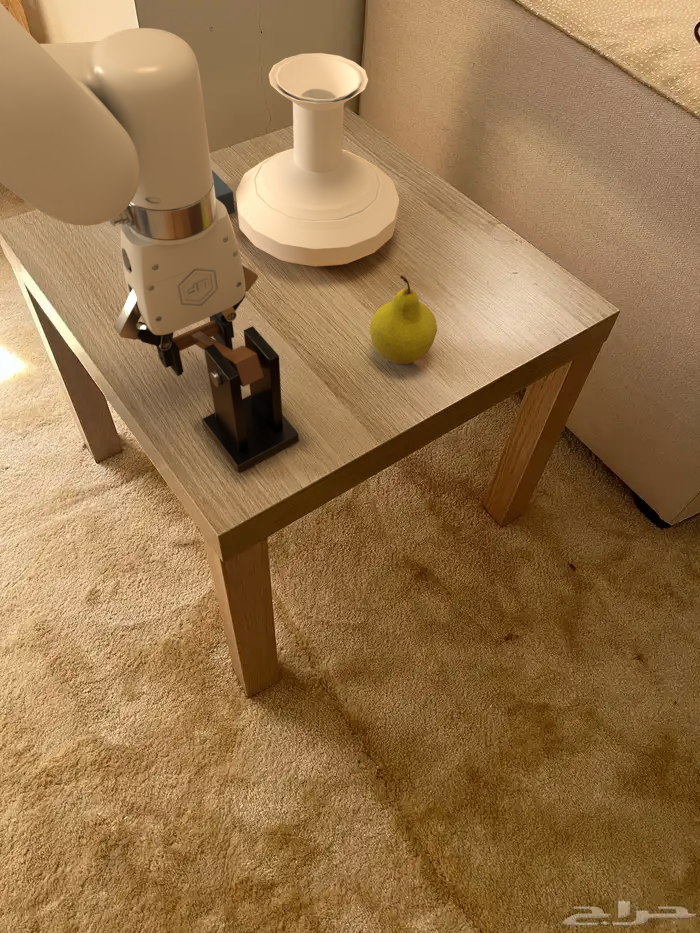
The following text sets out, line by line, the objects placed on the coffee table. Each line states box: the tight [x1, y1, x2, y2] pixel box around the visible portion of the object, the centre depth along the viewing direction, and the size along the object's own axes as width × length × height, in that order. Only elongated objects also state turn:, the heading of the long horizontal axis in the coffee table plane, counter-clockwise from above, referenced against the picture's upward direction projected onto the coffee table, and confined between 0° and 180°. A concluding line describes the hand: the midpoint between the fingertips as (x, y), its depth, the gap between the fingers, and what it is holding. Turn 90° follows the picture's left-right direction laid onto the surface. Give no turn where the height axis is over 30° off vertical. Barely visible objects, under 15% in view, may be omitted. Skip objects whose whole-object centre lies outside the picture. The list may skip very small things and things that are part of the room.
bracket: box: [201, 325, 300, 474], centre depth 66 cm, size 7×7×12 cm
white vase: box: [235, 52, 400, 268], centre depth 81 cm, size 20×20×19 cm
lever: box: [173, 320, 264, 388], centre depth 66 cm, size 13×5×2 cm, turn 36°
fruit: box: [369, 275, 438, 365], centre depth 73 cm, size 7×7×12 cm
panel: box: [212, 169, 236, 215], centre depth 89 cm, size 12×10×3 cm
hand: (198, 353), depth 73 cm, fingers closed on lever, 5 cm apart
